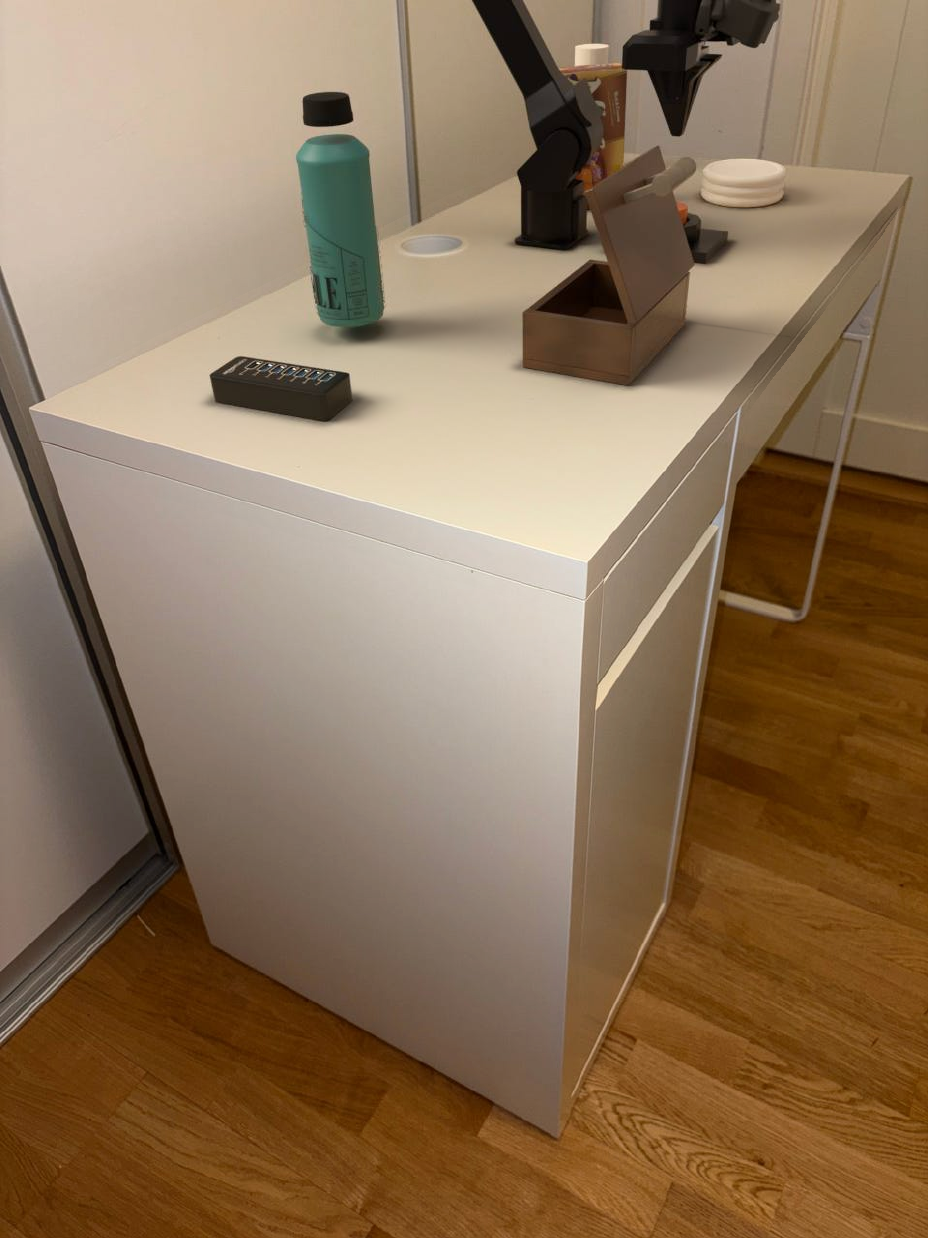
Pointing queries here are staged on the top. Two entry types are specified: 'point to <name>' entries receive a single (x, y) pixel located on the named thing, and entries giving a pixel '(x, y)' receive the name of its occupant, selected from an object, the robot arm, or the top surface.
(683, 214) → the power button
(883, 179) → the top surface
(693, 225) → the control block
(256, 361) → the multiport hub
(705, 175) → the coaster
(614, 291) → the chest
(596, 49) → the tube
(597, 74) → the candy box
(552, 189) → the robot arm
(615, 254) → the chest lid
